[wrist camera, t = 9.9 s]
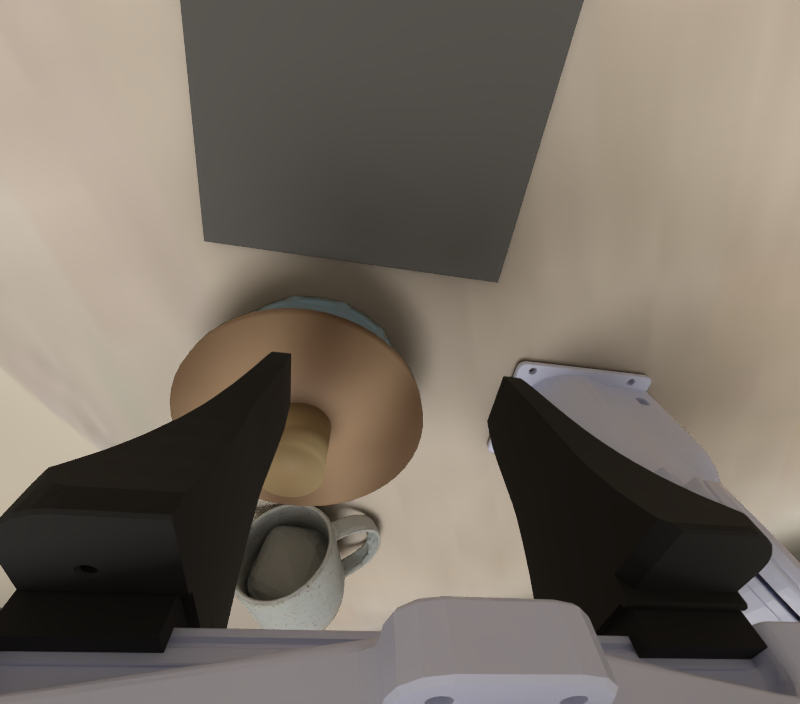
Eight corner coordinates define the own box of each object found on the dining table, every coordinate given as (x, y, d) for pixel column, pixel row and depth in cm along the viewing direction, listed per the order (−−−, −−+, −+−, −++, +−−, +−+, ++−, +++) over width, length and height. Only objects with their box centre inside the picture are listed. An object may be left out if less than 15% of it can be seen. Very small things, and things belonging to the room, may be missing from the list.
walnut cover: (444, 326, 18) (459, 373, 15) (400, 502, 25) (404, 562, 21) (159, 290, 17) (102, 332, 13) (191, 487, 23) (159, 550, 20)
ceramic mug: (272, 563, 35) (250, 663, 29) (244, 507, 31) (210, 609, 25) (385, 548, 35) (388, 645, 29) (372, 490, 31) (373, 588, 25)
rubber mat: (596, -55, 15) (601, -59, 15) (495, 280, 22) (497, 282, 22) (168, -167, 13) (163, -174, 13) (207, 239, 20) (204, 241, 20)
